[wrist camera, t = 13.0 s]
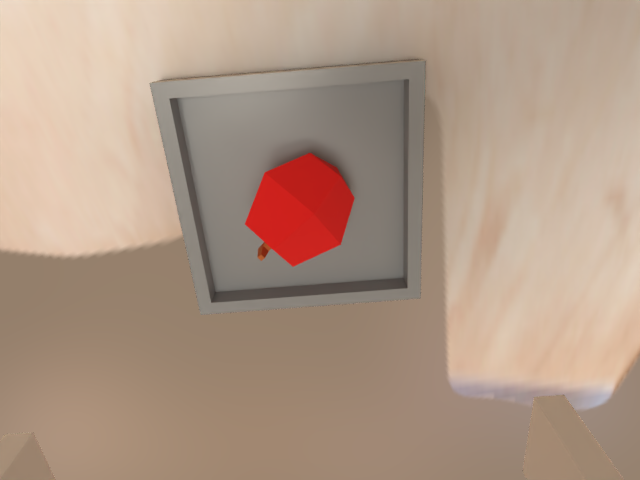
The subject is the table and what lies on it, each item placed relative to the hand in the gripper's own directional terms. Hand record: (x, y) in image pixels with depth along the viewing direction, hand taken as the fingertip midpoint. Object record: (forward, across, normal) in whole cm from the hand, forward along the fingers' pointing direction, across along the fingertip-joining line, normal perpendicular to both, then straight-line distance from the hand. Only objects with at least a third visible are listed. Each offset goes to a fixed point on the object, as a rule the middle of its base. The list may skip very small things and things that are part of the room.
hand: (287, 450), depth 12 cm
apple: (+22, 0, 0) cm, 22 cm away
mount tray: (+23, 0, 0) cm, 23 cm away
